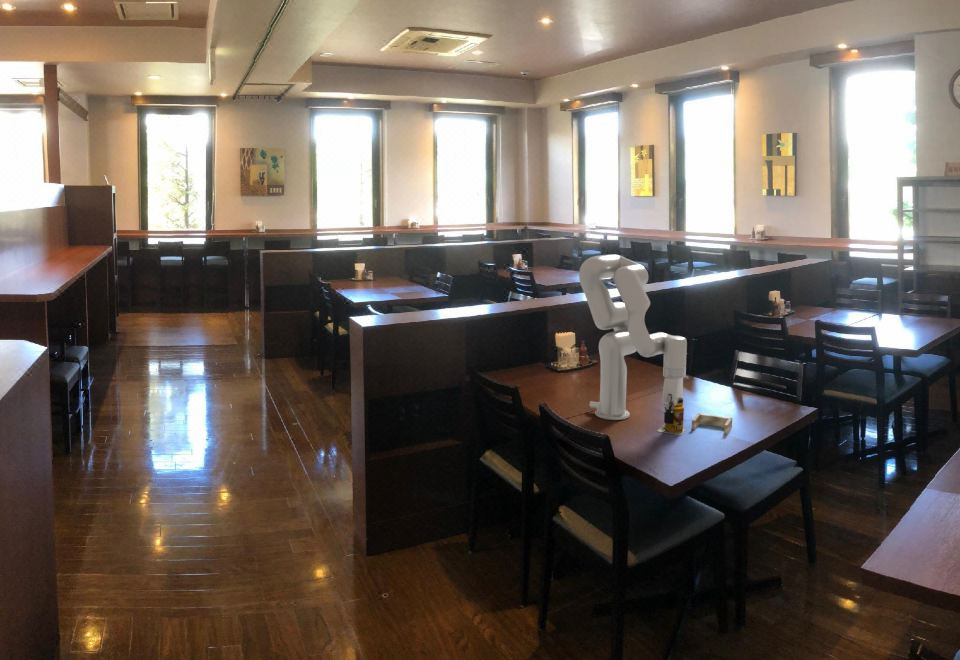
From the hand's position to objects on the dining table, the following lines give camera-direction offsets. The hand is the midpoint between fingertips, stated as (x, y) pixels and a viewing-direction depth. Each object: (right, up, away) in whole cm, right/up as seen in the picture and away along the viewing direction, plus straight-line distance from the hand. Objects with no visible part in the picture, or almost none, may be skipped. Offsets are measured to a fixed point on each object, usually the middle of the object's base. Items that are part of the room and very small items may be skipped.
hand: (672, 419), depth 266 cm
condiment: (0, -4, +1) cm, 4 cm away
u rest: (+14, -4, +2) cm, 15 cm away
